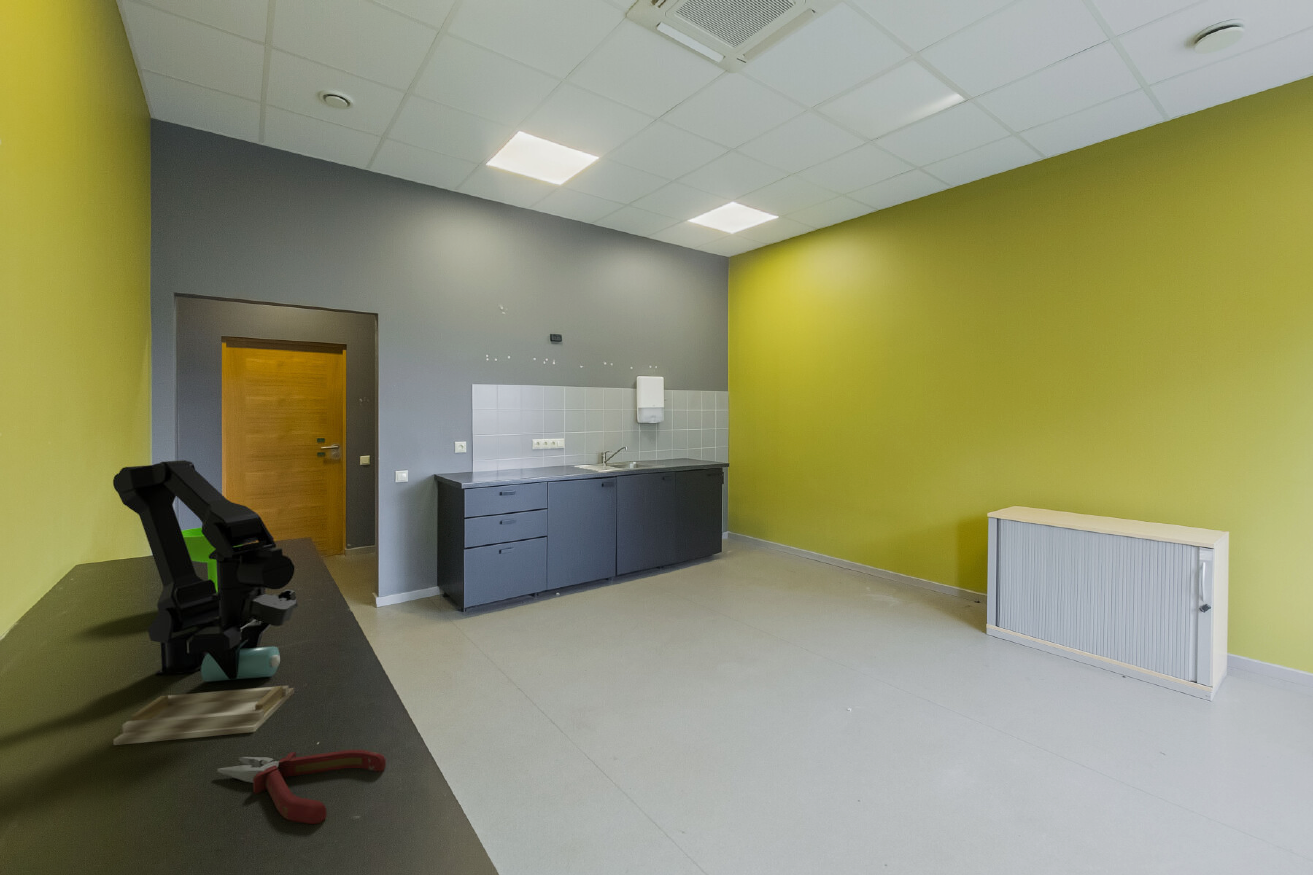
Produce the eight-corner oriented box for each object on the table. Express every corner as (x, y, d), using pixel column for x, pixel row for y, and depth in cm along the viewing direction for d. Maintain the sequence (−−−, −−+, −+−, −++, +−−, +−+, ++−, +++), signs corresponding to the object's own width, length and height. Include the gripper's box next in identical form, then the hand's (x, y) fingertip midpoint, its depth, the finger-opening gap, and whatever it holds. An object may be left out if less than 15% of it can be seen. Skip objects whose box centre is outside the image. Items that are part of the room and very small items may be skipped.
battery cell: (201, 686, 97) (200, 658, 97) (219, 673, 102) (218, 646, 101) (270, 681, 98) (269, 652, 98) (284, 668, 103) (283, 641, 103)
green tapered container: (220, 610, 137) (216, 536, 137) (154, 611, 137) (151, 537, 137) (266, 590, 153) (263, 524, 153) (208, 591, 153) (205, 525, 153)
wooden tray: (113, 745, 79) (112, 726, 79) (172, 702, 91) (172, 687, 91) (254, 731, 82) (253, 714, 82) (294, 692, 94) (293, 677, 94)
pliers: (269, 748, 79) (268, 729, 79) (390, 769, 73) (390, 749, 73) (181, 802, 68) (180, 781, 68) (316, 832, 62) (315, 809, 62)
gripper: (259, 597, 91) (263, 692, 92) (311, 567, 110) (314, 647, 110) (182, 602, 90) (187, 699, 90) (248, 571, 108) (251, 651, 109)
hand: (241, 671), depth 100 cm, fingers closed on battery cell, 5 cm apart
